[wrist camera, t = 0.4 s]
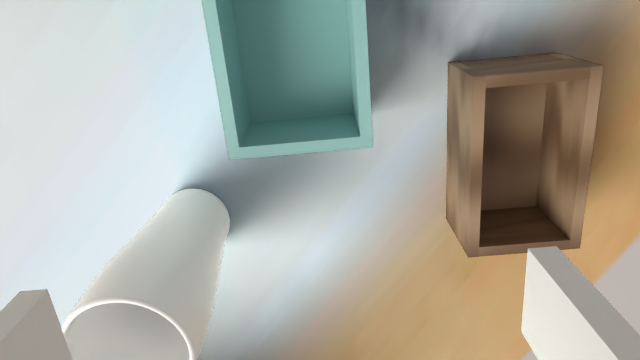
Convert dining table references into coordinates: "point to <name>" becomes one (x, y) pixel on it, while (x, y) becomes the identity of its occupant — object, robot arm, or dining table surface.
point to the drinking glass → (155, 287)
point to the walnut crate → (520, 151)
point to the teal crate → (290, 75)
